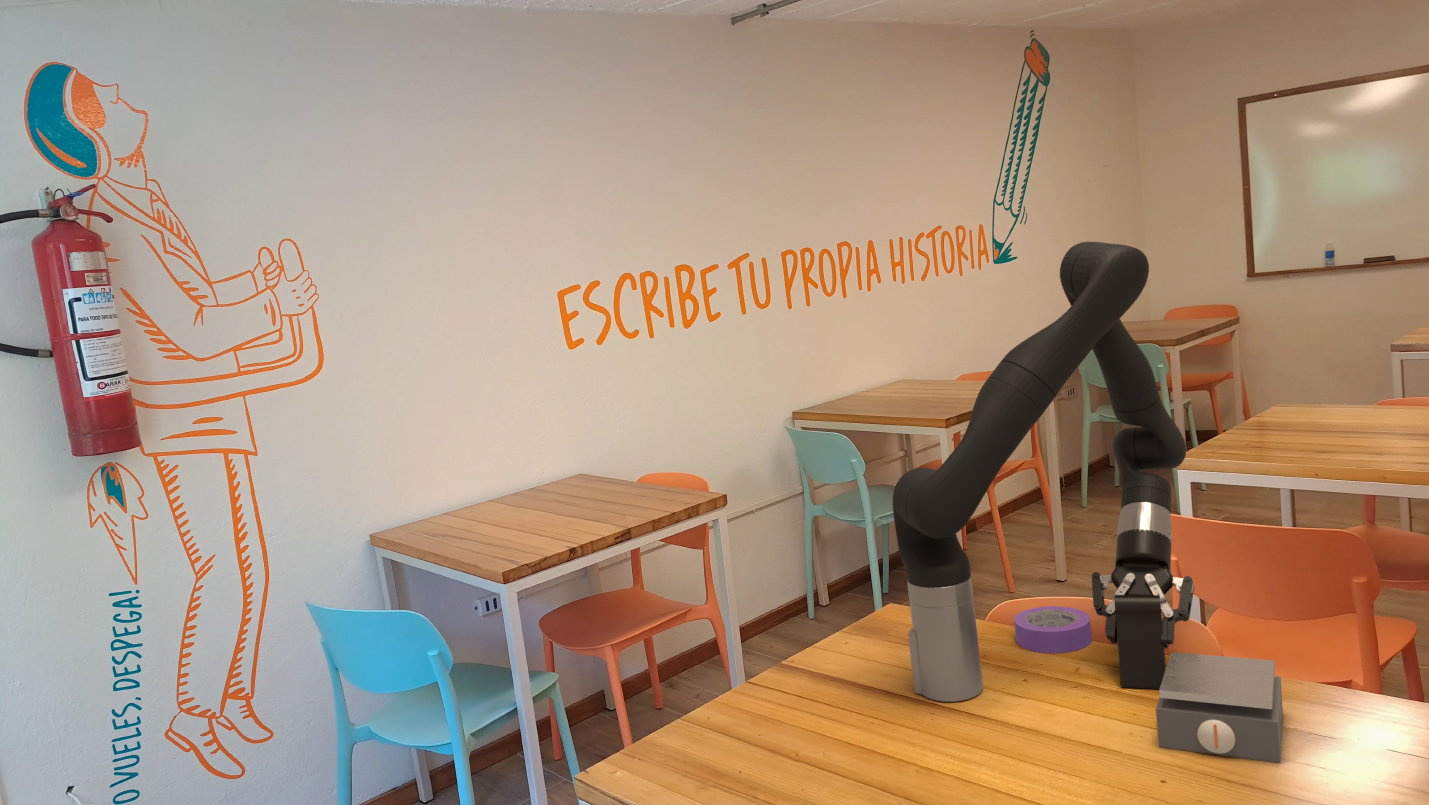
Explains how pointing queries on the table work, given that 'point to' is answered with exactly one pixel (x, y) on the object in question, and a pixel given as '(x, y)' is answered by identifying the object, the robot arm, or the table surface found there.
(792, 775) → the table surface
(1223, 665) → the pan
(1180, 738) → the base
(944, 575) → the robot arm
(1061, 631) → the masking tape
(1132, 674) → the phone stand
